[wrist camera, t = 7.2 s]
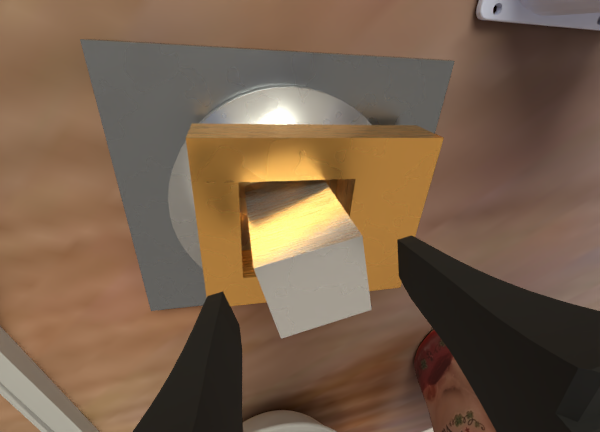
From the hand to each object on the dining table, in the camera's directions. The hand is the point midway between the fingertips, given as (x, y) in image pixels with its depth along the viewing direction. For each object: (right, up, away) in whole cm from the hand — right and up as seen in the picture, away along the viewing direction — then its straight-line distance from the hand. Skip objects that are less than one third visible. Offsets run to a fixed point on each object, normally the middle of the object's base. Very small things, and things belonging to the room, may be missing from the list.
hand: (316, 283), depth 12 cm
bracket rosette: (-2, +4, +7) cm, 9 cm away
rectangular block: (-1, +3, +5) cm, 7 cm away
